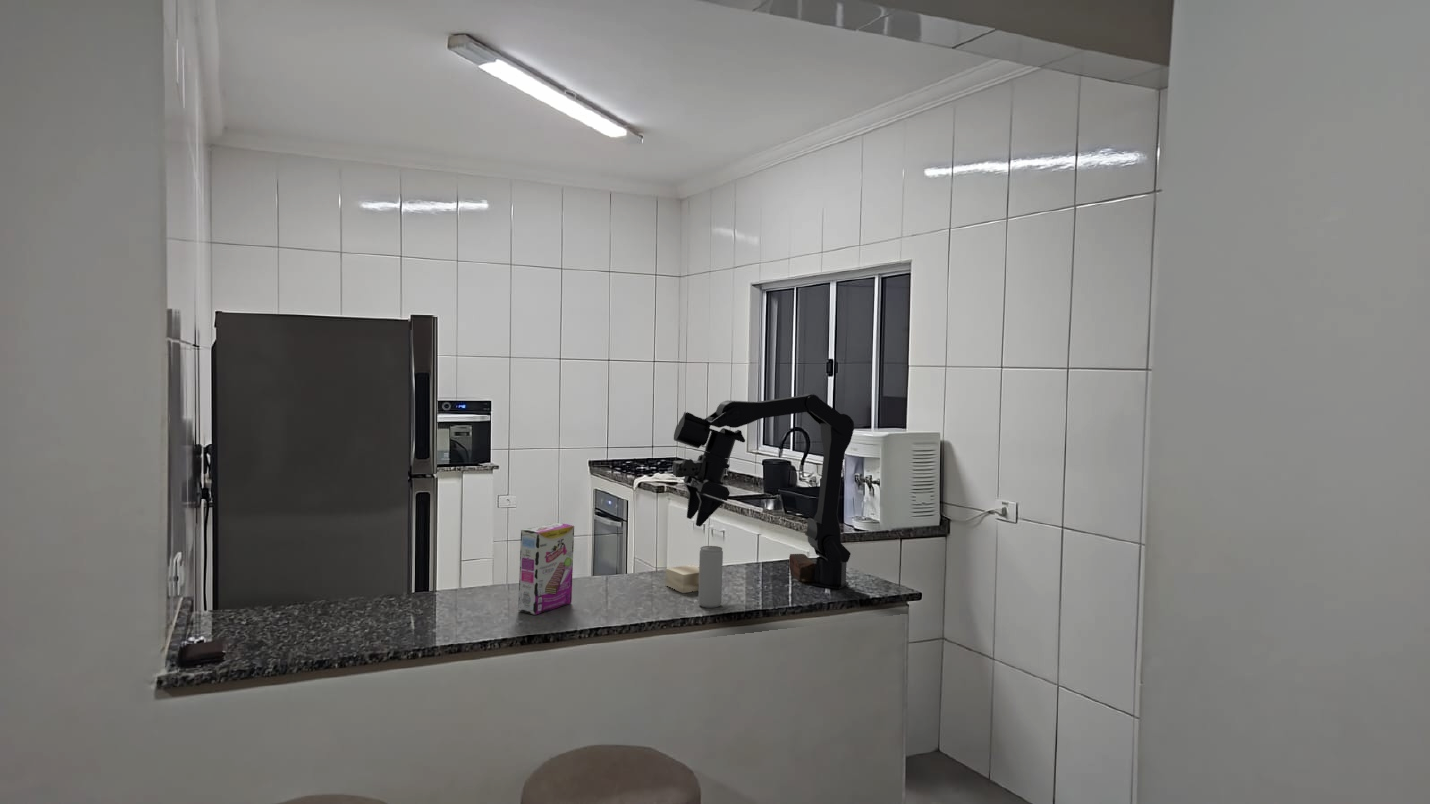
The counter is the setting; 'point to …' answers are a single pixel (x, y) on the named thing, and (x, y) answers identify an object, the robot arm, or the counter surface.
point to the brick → (801, 567)
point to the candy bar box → (545, 568)
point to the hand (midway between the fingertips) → (693, 522)
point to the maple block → (683, 578)
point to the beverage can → (710, 576)
